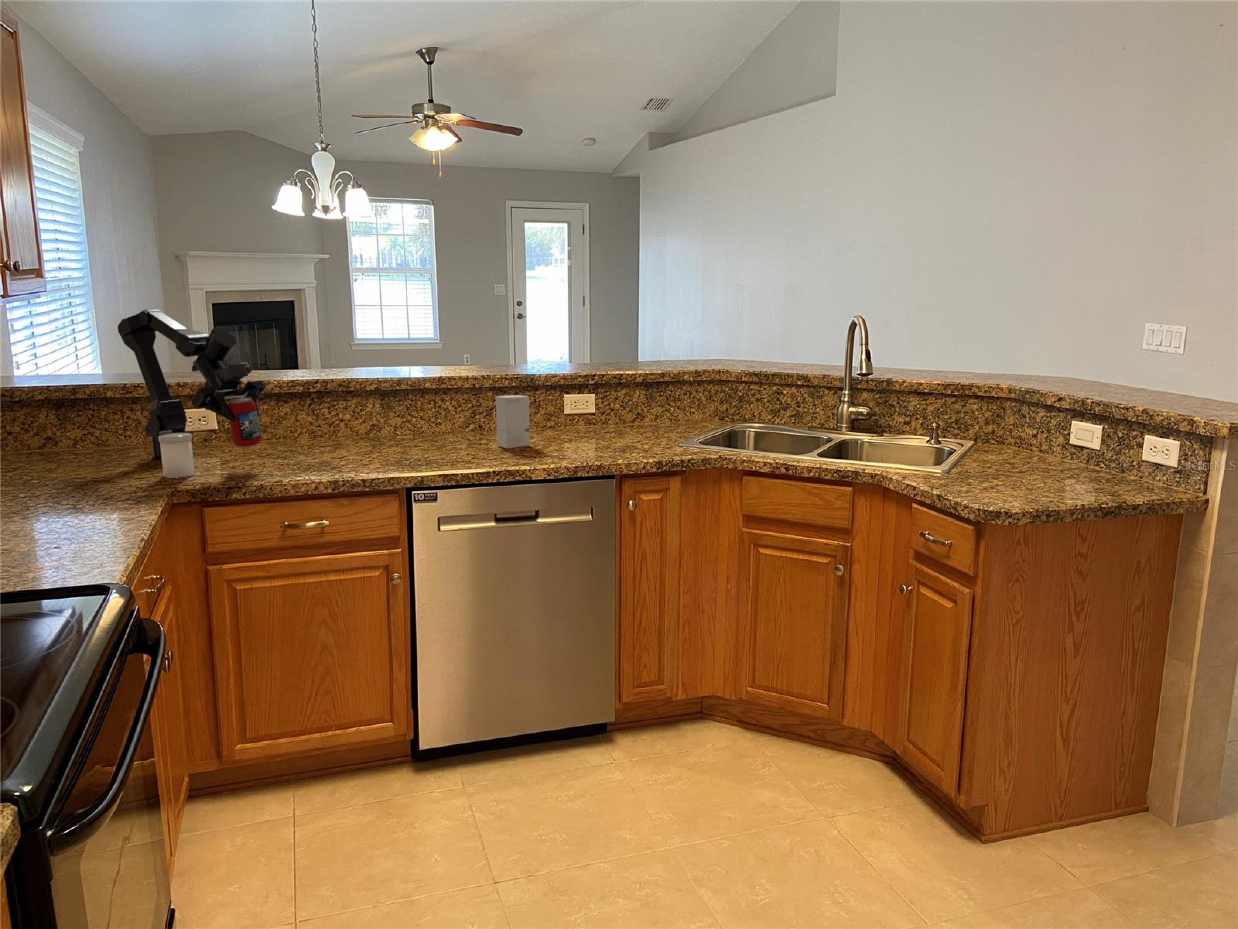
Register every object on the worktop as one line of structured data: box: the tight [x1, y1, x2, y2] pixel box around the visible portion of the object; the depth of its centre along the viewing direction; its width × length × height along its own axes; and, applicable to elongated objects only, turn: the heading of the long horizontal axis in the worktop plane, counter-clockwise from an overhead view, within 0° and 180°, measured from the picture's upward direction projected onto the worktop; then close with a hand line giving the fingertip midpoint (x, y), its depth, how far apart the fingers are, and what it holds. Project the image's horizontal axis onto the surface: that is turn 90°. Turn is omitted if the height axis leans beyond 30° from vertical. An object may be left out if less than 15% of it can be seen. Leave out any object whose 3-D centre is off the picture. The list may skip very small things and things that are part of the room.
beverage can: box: [227, 397, 262, 448], centre depth 230 cm, size 7×7×12 cm
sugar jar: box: [159, 432, 195, 479], centre depth 224 cm, size 7×7×10 cm
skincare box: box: [495, 394, 531, 450], centre depth 262 cm, size 8×6×15 cm
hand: (246, 419), depth 229 cm, fingers closed on beverage can, 6 cm apart
